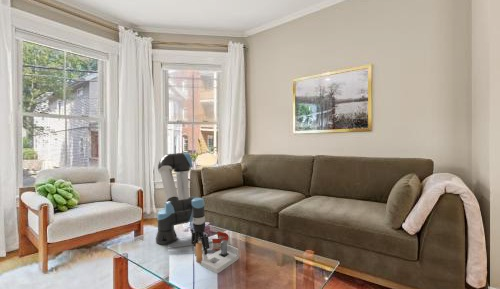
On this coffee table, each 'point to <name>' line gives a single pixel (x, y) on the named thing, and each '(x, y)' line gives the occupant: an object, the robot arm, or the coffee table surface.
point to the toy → (219, 240)
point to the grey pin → (223, 248)
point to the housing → (221, 259)
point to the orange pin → (199, 252)
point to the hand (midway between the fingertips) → (201, 257)
